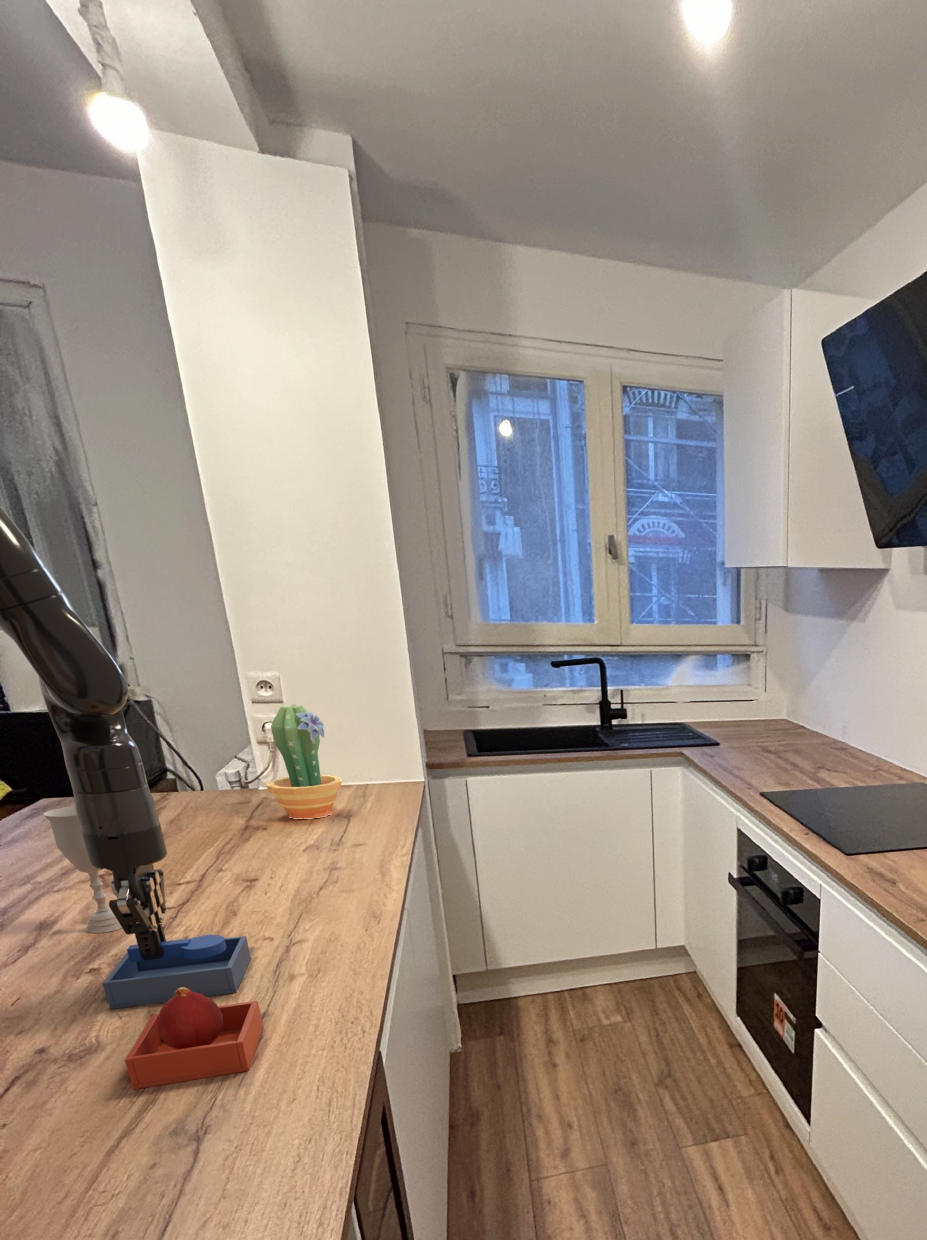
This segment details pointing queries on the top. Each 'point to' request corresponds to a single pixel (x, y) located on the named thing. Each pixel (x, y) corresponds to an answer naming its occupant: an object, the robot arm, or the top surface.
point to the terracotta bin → (197, 1050)
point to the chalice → (81, 864)
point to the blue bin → (177, 976)
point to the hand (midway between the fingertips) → (155, 955)
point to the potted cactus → (301, 765)
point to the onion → (189, 1020)
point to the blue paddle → (186, 948)
